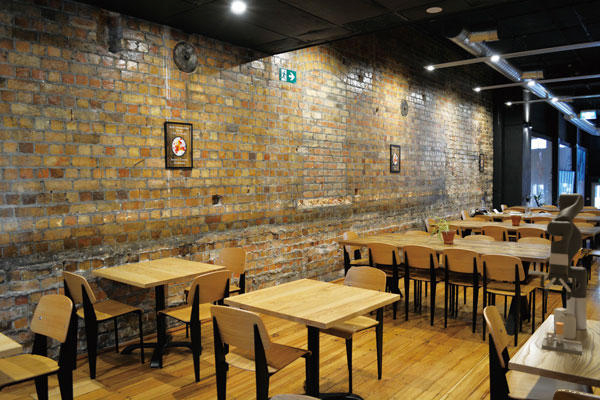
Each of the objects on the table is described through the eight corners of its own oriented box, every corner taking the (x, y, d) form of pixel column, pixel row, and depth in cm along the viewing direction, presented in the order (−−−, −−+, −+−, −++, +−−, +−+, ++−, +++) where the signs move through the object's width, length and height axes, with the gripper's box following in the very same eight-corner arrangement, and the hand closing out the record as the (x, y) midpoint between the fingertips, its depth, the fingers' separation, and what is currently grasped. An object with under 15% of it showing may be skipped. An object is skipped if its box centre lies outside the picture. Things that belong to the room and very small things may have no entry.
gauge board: (541, 348, 213) (541, 334, 213) (543, 340, 223) (543, 327, 223) (582, 354, 204) (582, 340, 204) (582, 346, 214) (582, 333, 214)
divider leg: (555, 345, 211) (555, 325, 211) (556, 340, 218) (556, 321, 217) (562, 346, 210) (562, 326, 209) (563, 341, 216) (563, 322, 216)
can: (571, 334, 230) (571, 312, 230) (578, 339, 223) (578, 316, 222) (556, 334, 231) (556, 312, 231) (563, 339, 224) (563, 316, 223)
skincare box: (561, 333, 233) (561, 311, 232) (553, 331, 236) (553, 309, 236) (568, 331, 235) (568, 309, 235) (560, 329, 239) (560, 307, 239)
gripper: (577, 265, 206) (576, 300, 204) (542, 262, 214) (541, 296, 213) (575, 265, 200) (574, 301, 198) (540, 262, 208) (538, 296, 207)
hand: (557, 298), depth 206 cm, fingers open, 8 cm apart
